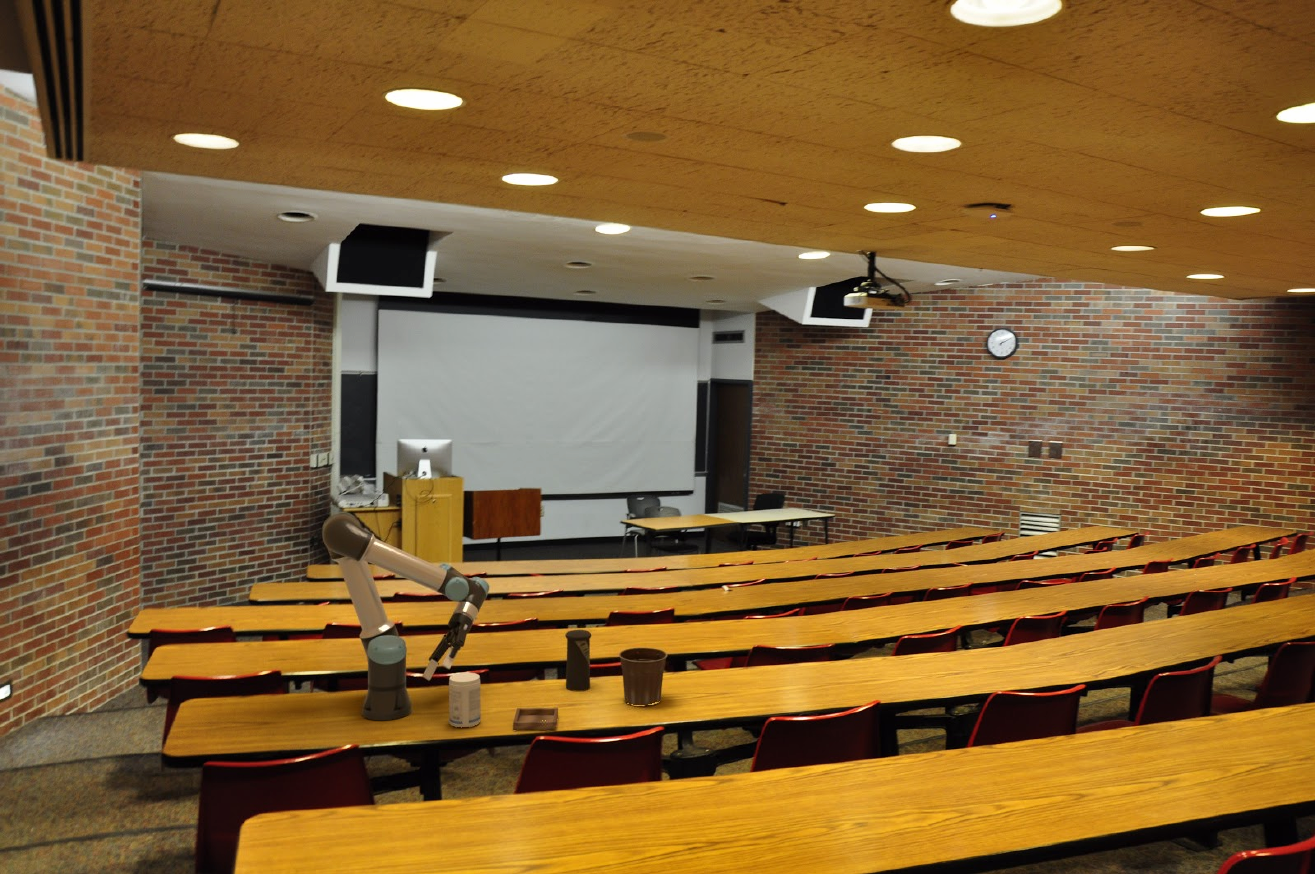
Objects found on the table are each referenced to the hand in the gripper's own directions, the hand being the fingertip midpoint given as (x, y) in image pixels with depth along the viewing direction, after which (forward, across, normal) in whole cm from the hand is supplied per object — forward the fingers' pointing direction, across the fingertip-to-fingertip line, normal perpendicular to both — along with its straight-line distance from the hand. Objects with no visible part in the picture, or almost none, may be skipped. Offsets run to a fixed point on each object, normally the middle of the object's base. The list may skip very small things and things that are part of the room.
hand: (435, 672), depth 295 cm
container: (-23, -2, -48) cm, 53 cm away
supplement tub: (+12, -6, -14) cm, 19 cm away
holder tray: (+6, -19, -31) cm, 36 cm away
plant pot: (-18, -24, -62) cm, 69 cm away
